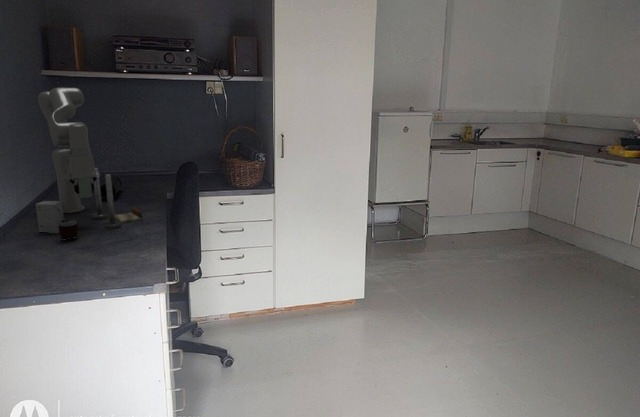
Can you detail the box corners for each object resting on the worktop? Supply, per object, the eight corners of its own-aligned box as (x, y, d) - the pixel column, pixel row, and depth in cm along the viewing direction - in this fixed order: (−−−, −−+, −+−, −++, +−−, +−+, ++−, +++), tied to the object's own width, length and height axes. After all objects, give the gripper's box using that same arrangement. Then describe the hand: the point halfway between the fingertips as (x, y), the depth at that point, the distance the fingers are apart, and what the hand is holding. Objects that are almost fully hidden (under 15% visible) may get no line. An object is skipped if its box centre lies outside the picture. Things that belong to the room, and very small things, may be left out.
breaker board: (121, 223, 224) (120, 215, 223) (113, 217, 233) (112, 209, 232) (142, 219, 230) (142, 211, 229) (134, 214, 239) (133, 206, 238)
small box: (65, 229, 213) (61, 200, 210) (57, 233, 207) (54, 204, 204) (47, 229, 213) (43, 200, 210) (38, 233, 207) (34, 204, 204)
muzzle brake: (98, 202, 263) (96, 183, 260) (106, 191, 289) (104, 174, 286) (117, 201, 265) (115, 182, 263) (123, 190, 291) (121, 174, 289)
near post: (106, 229, 213) (101, 176, 207) (102, 226, 218) (97, 174, 213) (123, 227, 217) (118, 175, 212) (118, 223, 223) (113, 172, 217)
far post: (94, 220, 228) (89, 170, 222) (90, 216, 234) (85, 167, 228) (110, 217, 233) (105, 168, 227) (105, 214, 238) (101, 166, 232)
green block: (80, 198, 214) (78, 178, 212) (77, 196, 218) (75, 176, 216) (92, 196, 217) (90, 177, 215) (89, 194, 221) (87, 175, 219)
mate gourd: (81, 239, 200) (77, 204, 196) (61, 243, 195) (56, 207, 191) (75, 235, 205) (71, 201, 201) (55, 239, 200) (50, 204, 196)
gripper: (60, 154, 204) (65, 196, 209) (102, 152, 215) (106, 191, 219) (56, 152, 210) (61, 193, 215) (98, 150, 220) (102, 188, 225)
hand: (84, 192), depth 217 cm, fingers closed on green block, 5 cm apart
